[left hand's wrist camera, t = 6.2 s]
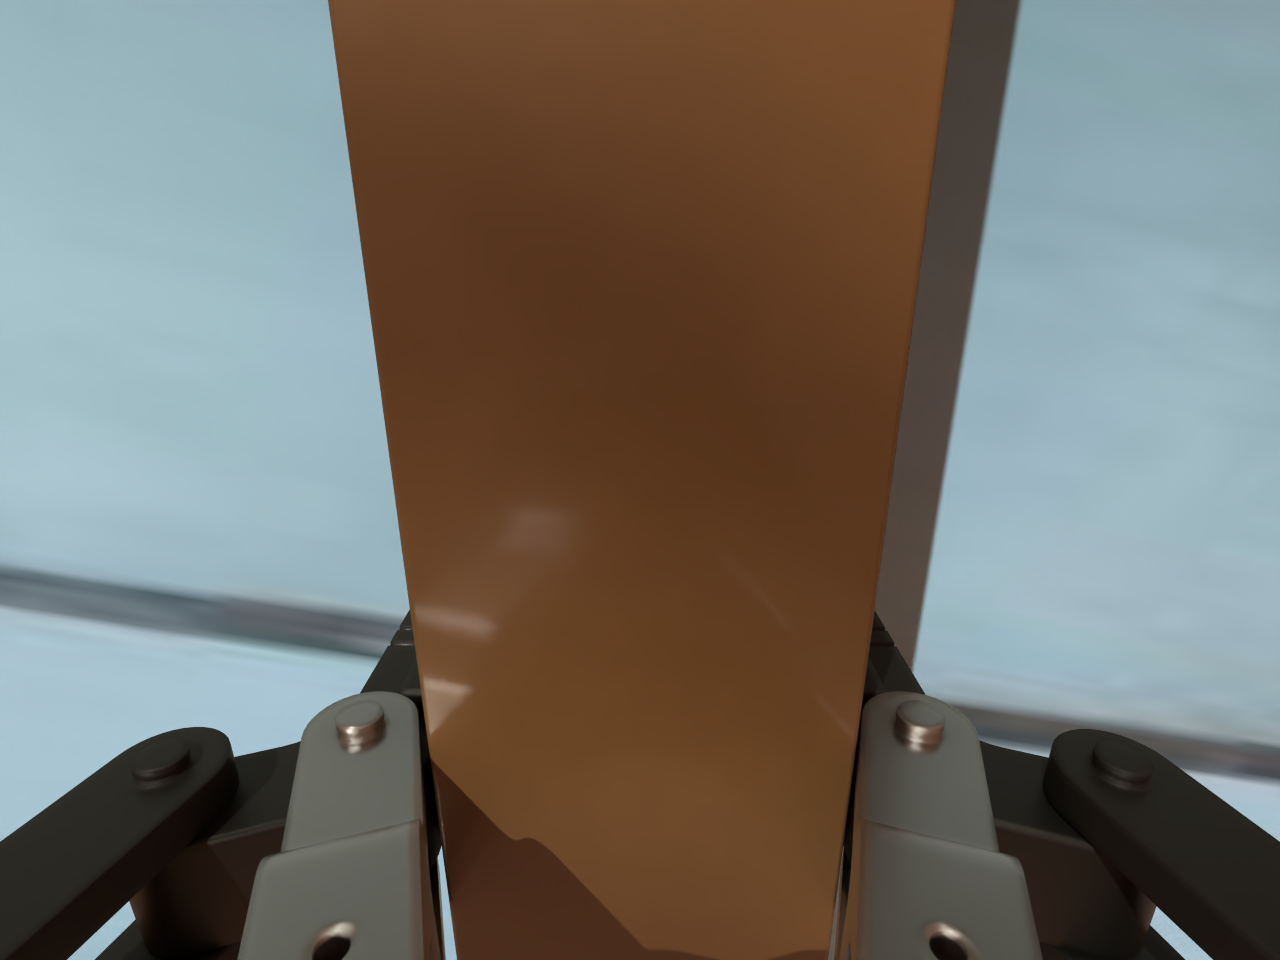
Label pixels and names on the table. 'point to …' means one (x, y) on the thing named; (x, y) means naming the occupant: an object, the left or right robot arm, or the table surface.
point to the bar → (642, 438)
